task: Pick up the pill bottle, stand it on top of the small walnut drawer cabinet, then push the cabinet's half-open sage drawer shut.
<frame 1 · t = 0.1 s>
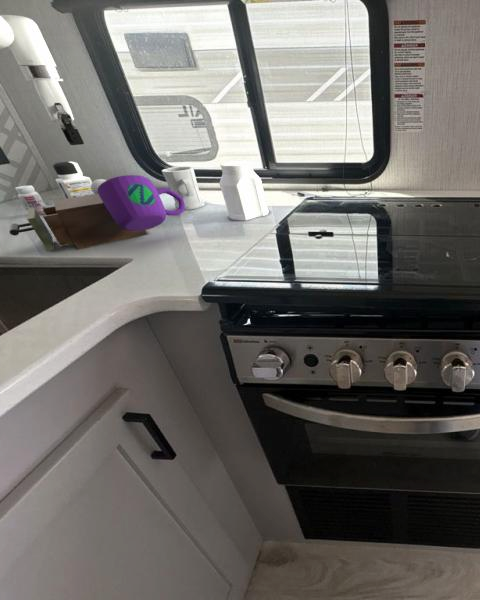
hand: (76, 143, 99), 20 cm above the countertop, tool pointing down, fingers open, 9 cm apart
pill bottle: (40, 214, 107), on the countertop
container: (84, 200, 121), on the countertop
mug: (158, 222, 84), point 4 cm above the countertop, touching cabinet
cup: (192, 207, 111), on the countertop
light bulb: (114, 211, 108), on the countertop
drawer: (62, 224, 82), point 5 cm above the countertop, slide at 4.0 cm
jar: (249, 215, 103), on the countertop
cabinet: (110, 234, 89), on the countertop
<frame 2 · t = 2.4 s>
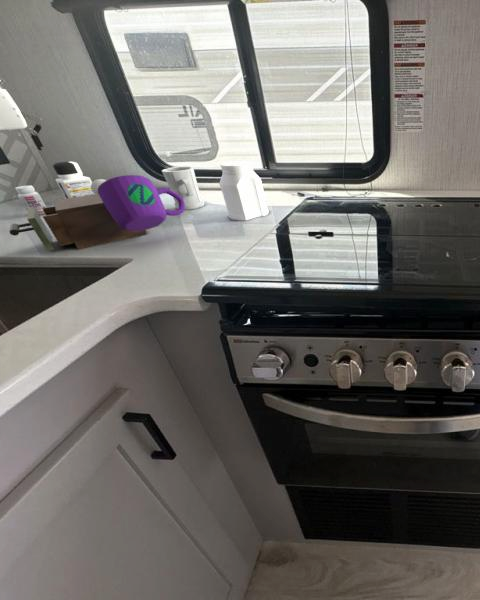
hand: (18, 151, 98), 18 cm above the countertop, tool pointing down, fingers open, 9 cm apart
nothing on the countertop moved.
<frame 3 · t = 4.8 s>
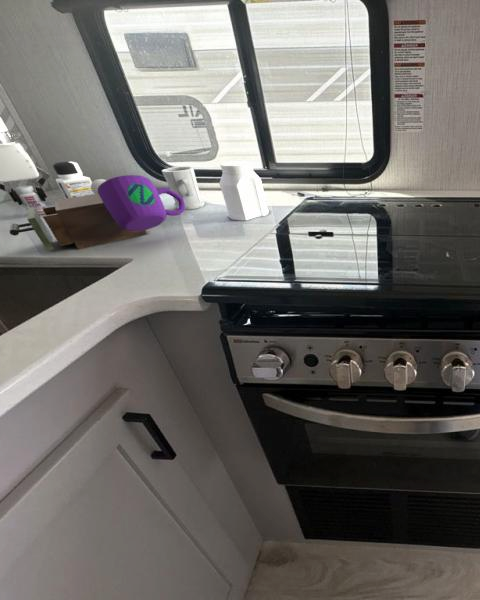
hand: (32, 201, 105), 4 cm above the countertop, tool pointing down, fingers closed on pill bottle, 4 cm apart
pill bottle: (40, 214, 107), on the countertop, touching gripper
everything else where it was.
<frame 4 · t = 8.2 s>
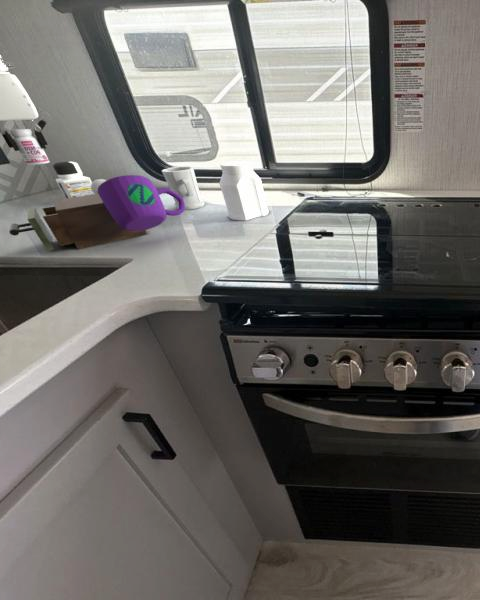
hand: (30, 148, 89), 20 cm above the countertop, tool pointing down, fingers closed on pill bottle, 4 cm apart
pill bottle: (39, 164, 91), point 16 cm above the countertop, touching gripper
everything else where it was.
when the fingers open (13 cm above the countertop, at t = 12.0 s): pill bottle stays where it is, resting on cabinet.
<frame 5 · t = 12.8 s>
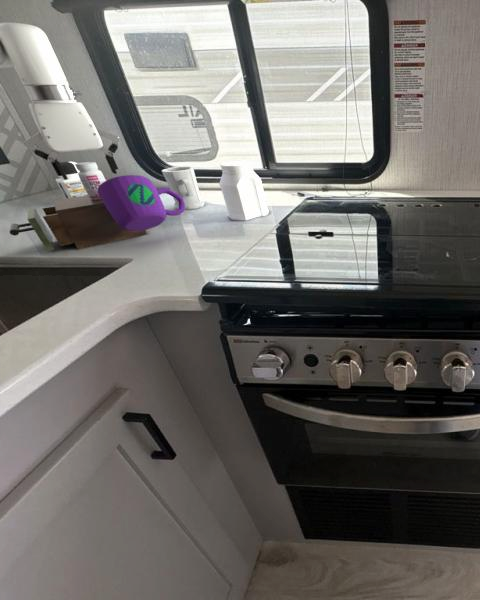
hand: (91, 175, 82), 15 cm above the countertop, tool pointing down, fingers open, 9 cm apart
pill bottle: (102, 198, 85), point 9 cm above the countertop, touching cabinet
everything else where it was.
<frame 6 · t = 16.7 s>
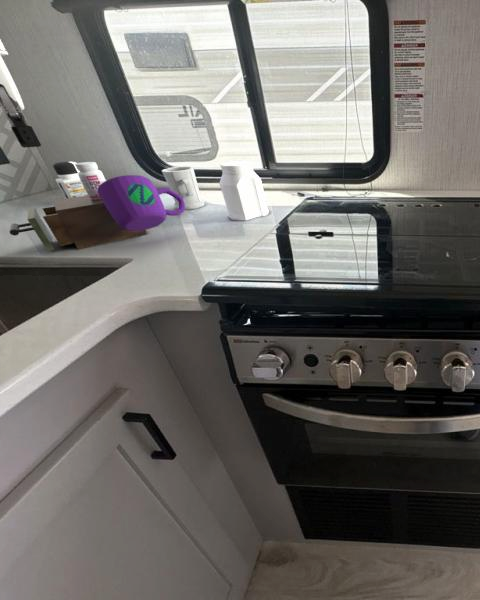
hand: (31, 146, 74), 22 cm above the countertop, tool pointing down, fingers closed
nothing on the countertop moved.
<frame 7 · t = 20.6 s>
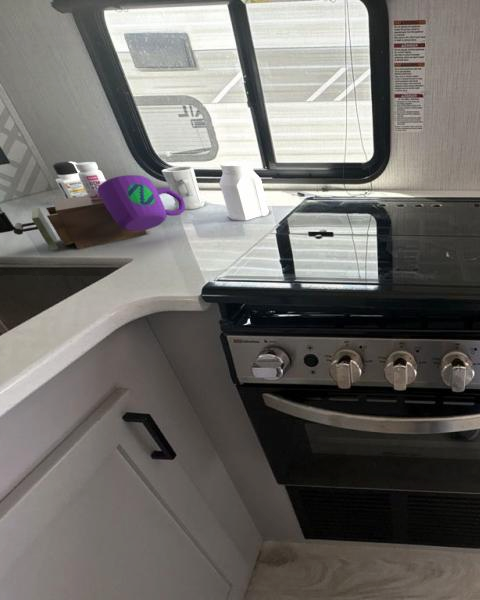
hand: (5, 231, 76), 6 cm above the countertop, tool pointing down, fingers closed
drawer: (66, 224, 83), point 5 cm above the countertop, slide at 3.3 cm, touching gripper
everything else where it was.
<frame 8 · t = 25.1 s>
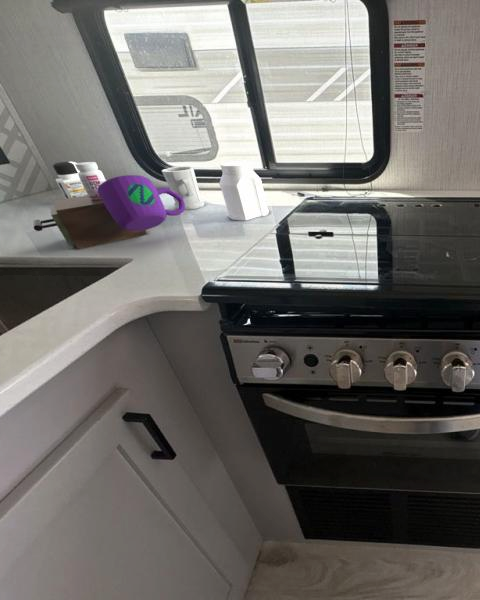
drawer: (83, 221, 85), point 5 cm above the countertop, slide at 0.0 cm, touching cabinet
everything else where it was.
at the end: pill bottle inside the target area on the cabinet (1.9 cm from its centre), point 9.4 cm above the cabinet's base; pill bottle tilted 0°; drawer slide at 0.0 cm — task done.
